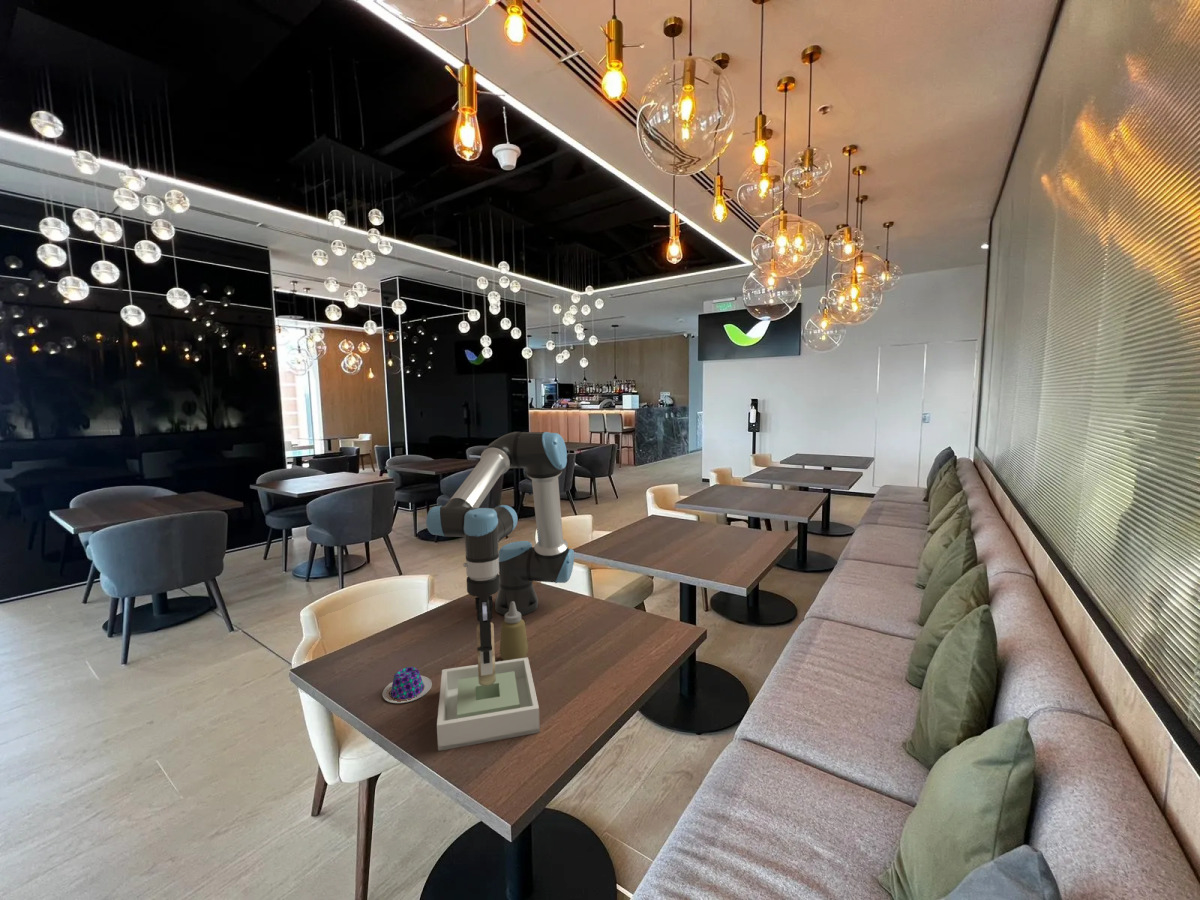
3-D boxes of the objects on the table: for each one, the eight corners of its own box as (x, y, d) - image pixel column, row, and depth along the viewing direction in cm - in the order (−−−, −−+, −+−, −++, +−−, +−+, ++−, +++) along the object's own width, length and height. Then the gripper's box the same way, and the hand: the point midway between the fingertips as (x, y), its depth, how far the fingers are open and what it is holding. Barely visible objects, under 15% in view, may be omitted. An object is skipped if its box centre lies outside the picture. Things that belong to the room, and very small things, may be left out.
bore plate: (458, 694, 125) (458, 679, 124) (514, 685, 128) (514, 671, 128) (457, 731, 112) (456, 714, 111) (520, 720, 115) (519, 704, 115)
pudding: (410, 673, 137) (409, 655, 136) (441, 685, 131) (440, 666, 130) (372, 697, 126) (370, 678, 126) (404, 711, 121) (403, 691, 120)
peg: (478, 677, 121) (476, 623, 119) (495, 674, 122) (493, 621, 120) (478, 687, 117) (476, 630, 115) (496, 684, 118) (494, 628, 116)
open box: (443, 691, 128) (442, 669, 127) (528, 678, 133) (527, 657, 133) (438, 751, 107) (436, 725, 106) (539, 732, 112) (539, 708, 112)
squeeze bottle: (522, 671, 137) (520, 609, 134) (495, 668, 138) (493, 607, 136) (532, 656, 144) (530, 597, 142) (506, 653, 146) (504, 595, 144)
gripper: (466, 564, 123) (470, 652, 126) (466, 591, 107) (470, 691, 110) (497, 561, 125) (500, 648, 128) (501, 587, 109) (504, 686, 111)
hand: (486, 668), depth 119 cm, fingers closed on peg, 4 cm apart
